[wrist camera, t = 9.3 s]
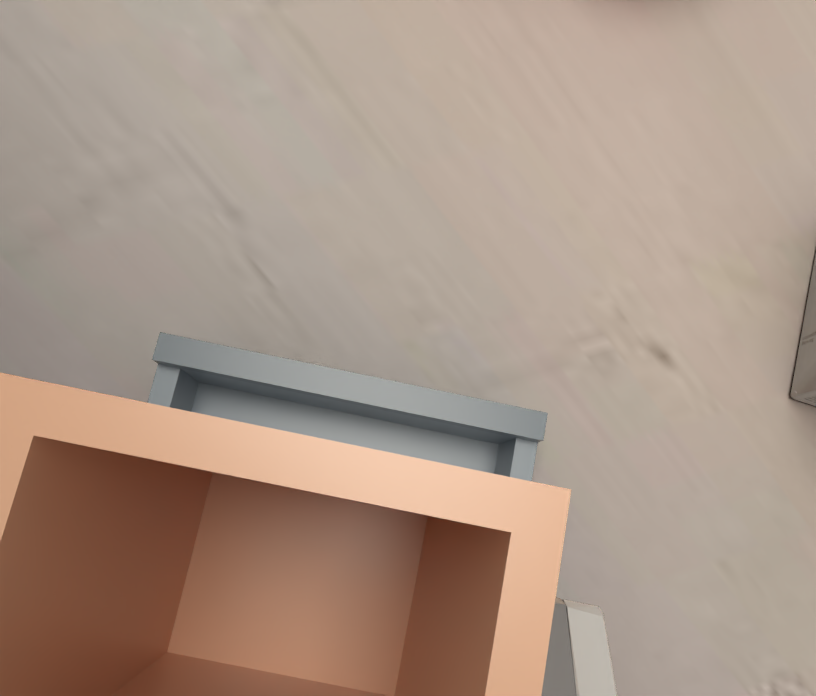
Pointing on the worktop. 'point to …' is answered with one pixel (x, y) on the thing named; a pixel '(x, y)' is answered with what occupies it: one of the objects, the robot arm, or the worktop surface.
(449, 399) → the tray
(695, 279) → the worktop surface
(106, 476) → the small crate
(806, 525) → the worktop surface
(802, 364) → the coffee box
